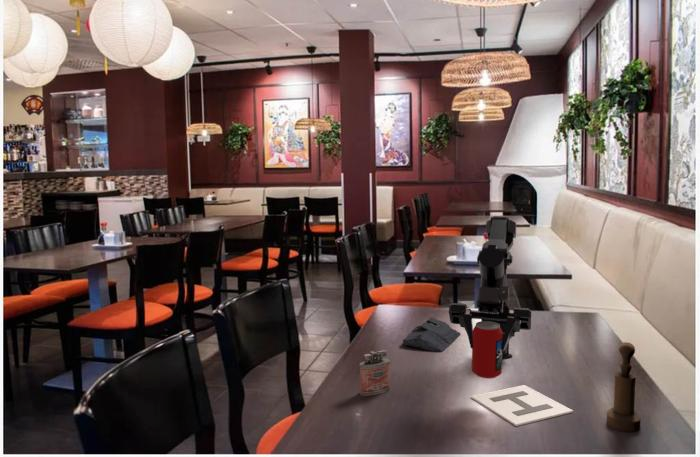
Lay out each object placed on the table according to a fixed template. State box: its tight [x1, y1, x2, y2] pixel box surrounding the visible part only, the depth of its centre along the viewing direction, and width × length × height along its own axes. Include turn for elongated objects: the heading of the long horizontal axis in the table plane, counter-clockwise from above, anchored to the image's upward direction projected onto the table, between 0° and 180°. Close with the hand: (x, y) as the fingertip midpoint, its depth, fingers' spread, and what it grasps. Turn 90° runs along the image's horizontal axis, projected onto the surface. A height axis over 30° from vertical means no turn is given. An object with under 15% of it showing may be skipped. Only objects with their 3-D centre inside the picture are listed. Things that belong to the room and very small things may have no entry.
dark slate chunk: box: [402, 317, 461, 353], centre depth 179 cm, size 15×22×5 cm
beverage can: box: [471, 321, 503, 379], centre depth 132 cm, size 7×7×12 cm
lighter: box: [359, 349, 391, 397], centre depth 139 cm, size 8×3×10 cm, turn 118°
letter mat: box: [470, 384, 574, 427], centre depth 132 cm, size 16×16×1 cm
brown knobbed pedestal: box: [606, 341, 642, 433], centre depth 121 cm, size 7×6×18 cm
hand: (487, 349), depth 130 cm, fingers closed on beverage can, 7 cm apart
